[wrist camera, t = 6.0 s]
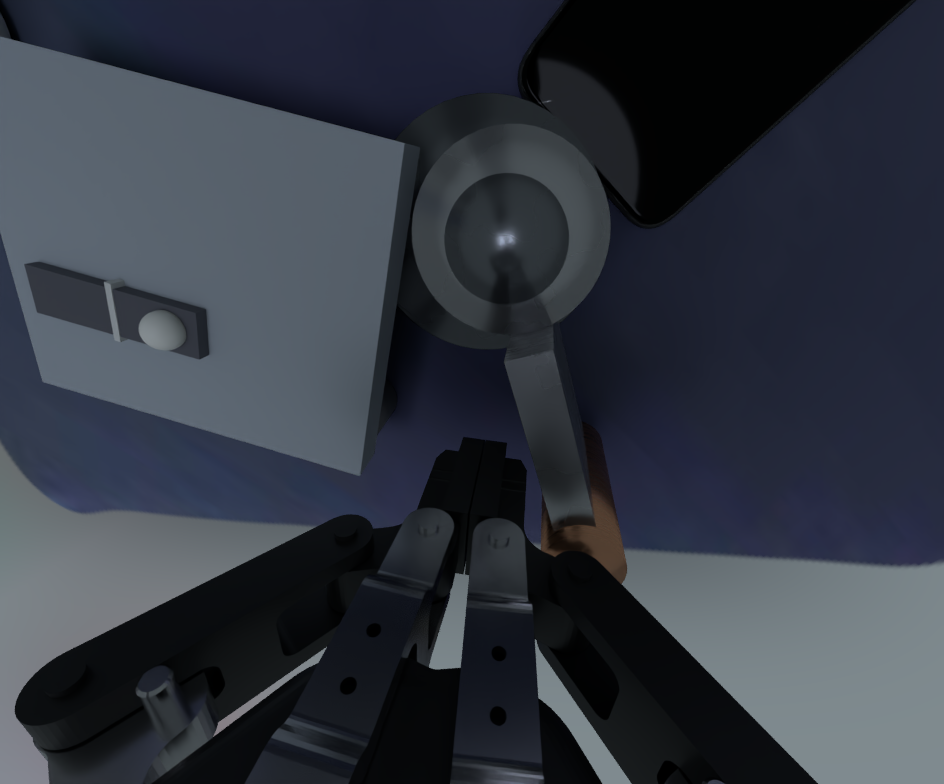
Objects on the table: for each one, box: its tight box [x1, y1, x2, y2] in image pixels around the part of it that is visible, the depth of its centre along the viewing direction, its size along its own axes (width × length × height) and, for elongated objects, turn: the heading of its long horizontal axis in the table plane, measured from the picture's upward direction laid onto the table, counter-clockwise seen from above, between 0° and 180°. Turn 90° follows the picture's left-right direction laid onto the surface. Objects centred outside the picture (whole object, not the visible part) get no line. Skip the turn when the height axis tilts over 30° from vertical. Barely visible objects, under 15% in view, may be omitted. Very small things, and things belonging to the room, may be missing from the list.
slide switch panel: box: [0, 36, 420, 476], centre depth 16 cm, size 12×14×6 cm
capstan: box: [395, 93, 627, 584], centre depth 14 cm, size 14×8×8 cm, turn 17°
